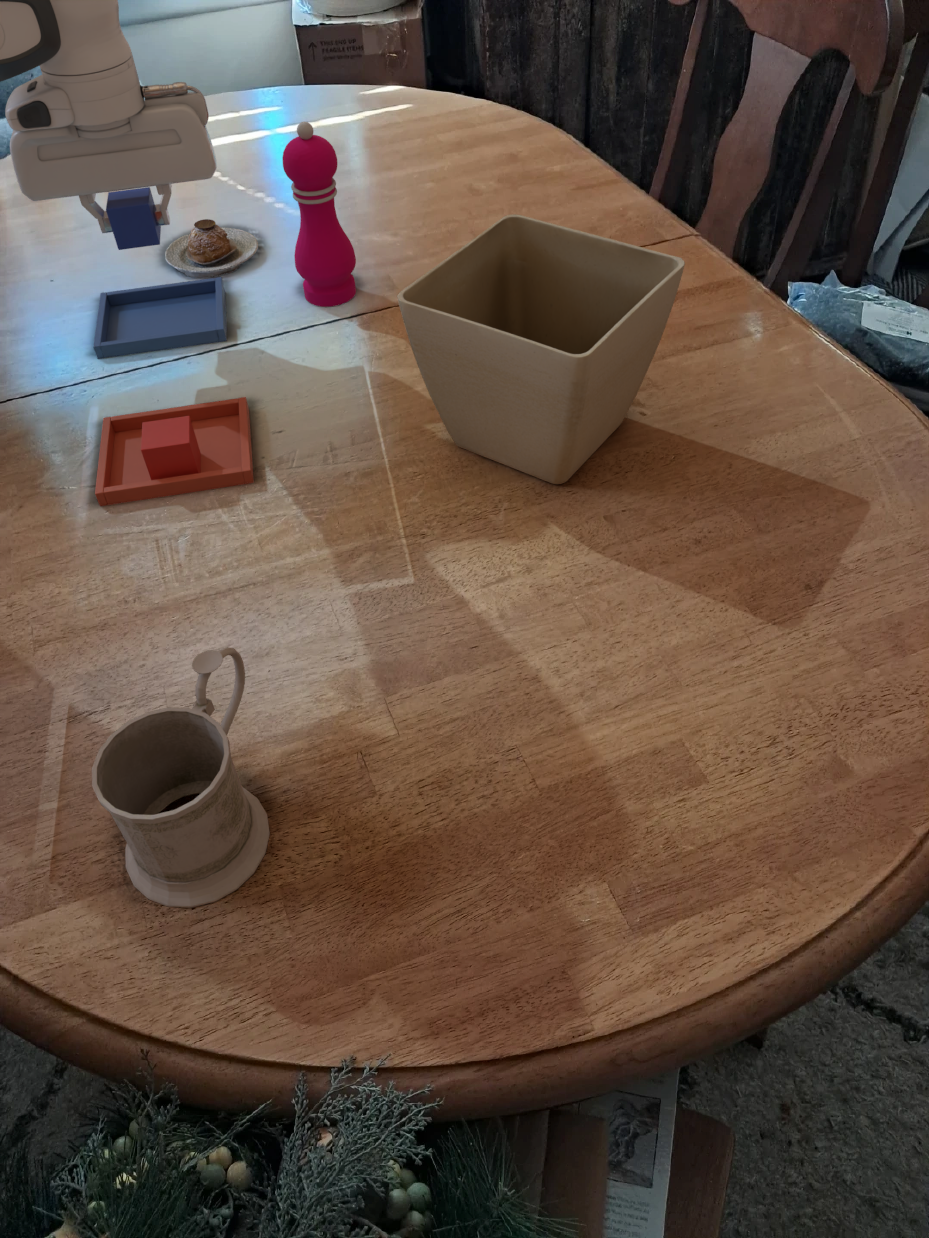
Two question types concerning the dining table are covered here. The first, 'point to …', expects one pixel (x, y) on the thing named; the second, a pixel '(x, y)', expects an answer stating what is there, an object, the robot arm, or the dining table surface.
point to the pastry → (210, 250)
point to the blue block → (133, 218)
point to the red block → (170, 448)
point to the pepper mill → (319, 221)
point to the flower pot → (538, 340)
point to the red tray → (221, 466)
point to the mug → (173, 768)
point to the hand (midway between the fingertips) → (136, 227)
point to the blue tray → (160, 318)
